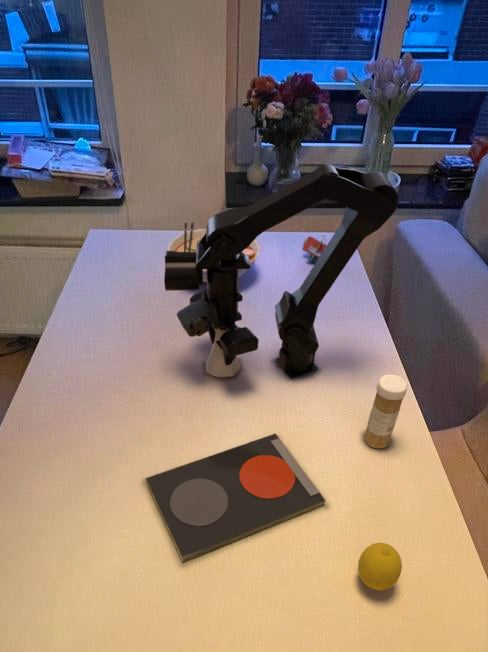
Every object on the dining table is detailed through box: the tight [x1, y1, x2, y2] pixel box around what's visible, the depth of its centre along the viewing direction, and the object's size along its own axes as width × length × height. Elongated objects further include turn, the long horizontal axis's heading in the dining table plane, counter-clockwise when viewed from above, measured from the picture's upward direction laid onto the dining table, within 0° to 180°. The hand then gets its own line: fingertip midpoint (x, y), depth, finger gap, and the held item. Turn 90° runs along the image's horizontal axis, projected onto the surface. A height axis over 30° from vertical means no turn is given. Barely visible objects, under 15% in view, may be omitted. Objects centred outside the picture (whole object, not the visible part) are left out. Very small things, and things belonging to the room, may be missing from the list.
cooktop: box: [145, 433, 326, 563], centre depth 84 cm, size 24×16×2 cm, turn 115°
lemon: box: [357, 542, 403, 591], centre depth 70 cm, size 6×6×8 cm
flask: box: [204, 328, 241, 378], centre depth 104 cm, size 7×7×10 cm
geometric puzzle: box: [301, 234, 328, 264], centre depth 138 cm, size 7×7×8 cm
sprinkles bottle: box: [363, 373, 408, 449], centre depth 88 cm, size 5×5×13 cm
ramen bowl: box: [167, 222, 261, 283], centre depth 132 cm, size 25×23×8 cm
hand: (222, 357), depth 105 cm, fingers closed on flask, 5 cm apart
